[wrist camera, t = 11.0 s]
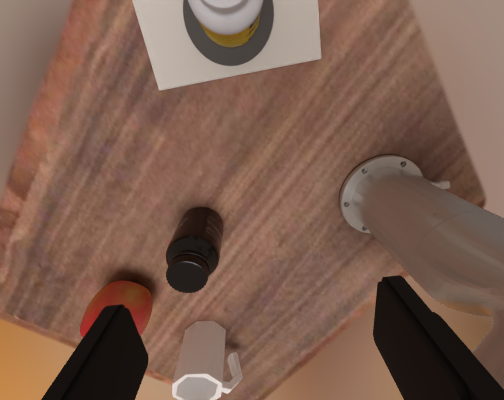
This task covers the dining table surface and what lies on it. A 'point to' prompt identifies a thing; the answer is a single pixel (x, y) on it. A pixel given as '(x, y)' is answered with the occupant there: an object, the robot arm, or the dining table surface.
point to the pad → (230, 54)
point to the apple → (116, 294)
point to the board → (203, 70)
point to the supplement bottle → (194, 250)
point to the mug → (204, 364)
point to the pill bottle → (228, 20)
